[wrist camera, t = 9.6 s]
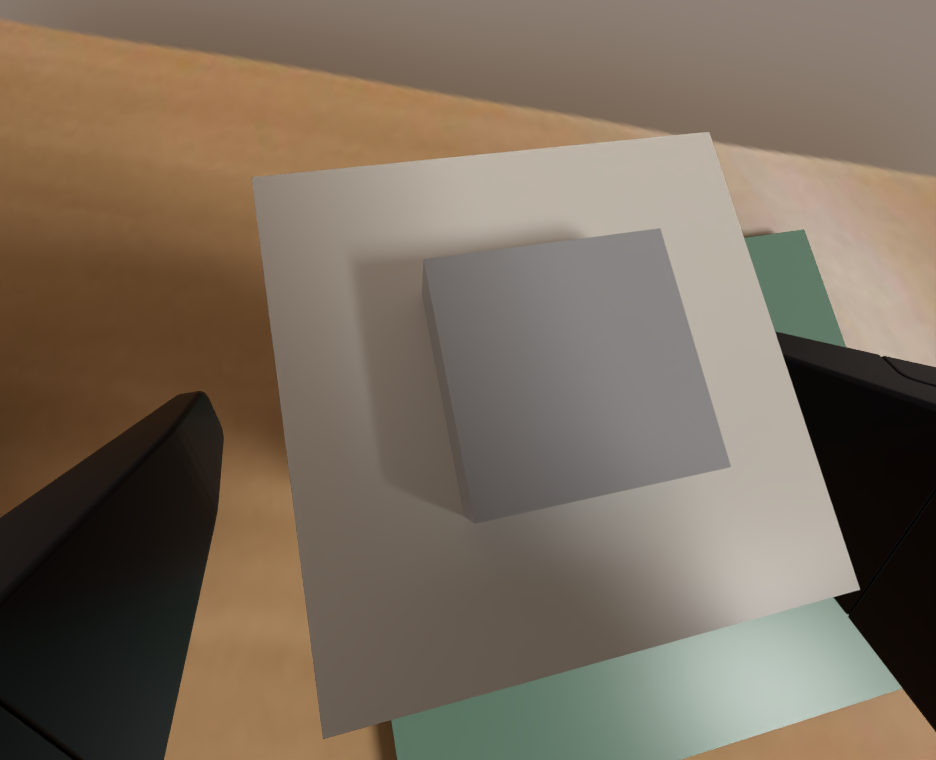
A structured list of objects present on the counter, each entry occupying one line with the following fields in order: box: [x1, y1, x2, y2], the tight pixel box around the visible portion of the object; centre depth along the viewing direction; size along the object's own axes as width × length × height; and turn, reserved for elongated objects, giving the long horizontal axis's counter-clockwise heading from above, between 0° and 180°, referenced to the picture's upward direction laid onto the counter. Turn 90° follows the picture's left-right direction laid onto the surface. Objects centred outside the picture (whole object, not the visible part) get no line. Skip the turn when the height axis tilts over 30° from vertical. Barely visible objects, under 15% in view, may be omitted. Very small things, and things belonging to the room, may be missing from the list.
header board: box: [391, 230, 903, 760], centre depth 17 cm, size 18×20×4 cm
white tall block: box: [252, 132, 860, 739], centre depth 10 cm, size 4×4×14 cm
